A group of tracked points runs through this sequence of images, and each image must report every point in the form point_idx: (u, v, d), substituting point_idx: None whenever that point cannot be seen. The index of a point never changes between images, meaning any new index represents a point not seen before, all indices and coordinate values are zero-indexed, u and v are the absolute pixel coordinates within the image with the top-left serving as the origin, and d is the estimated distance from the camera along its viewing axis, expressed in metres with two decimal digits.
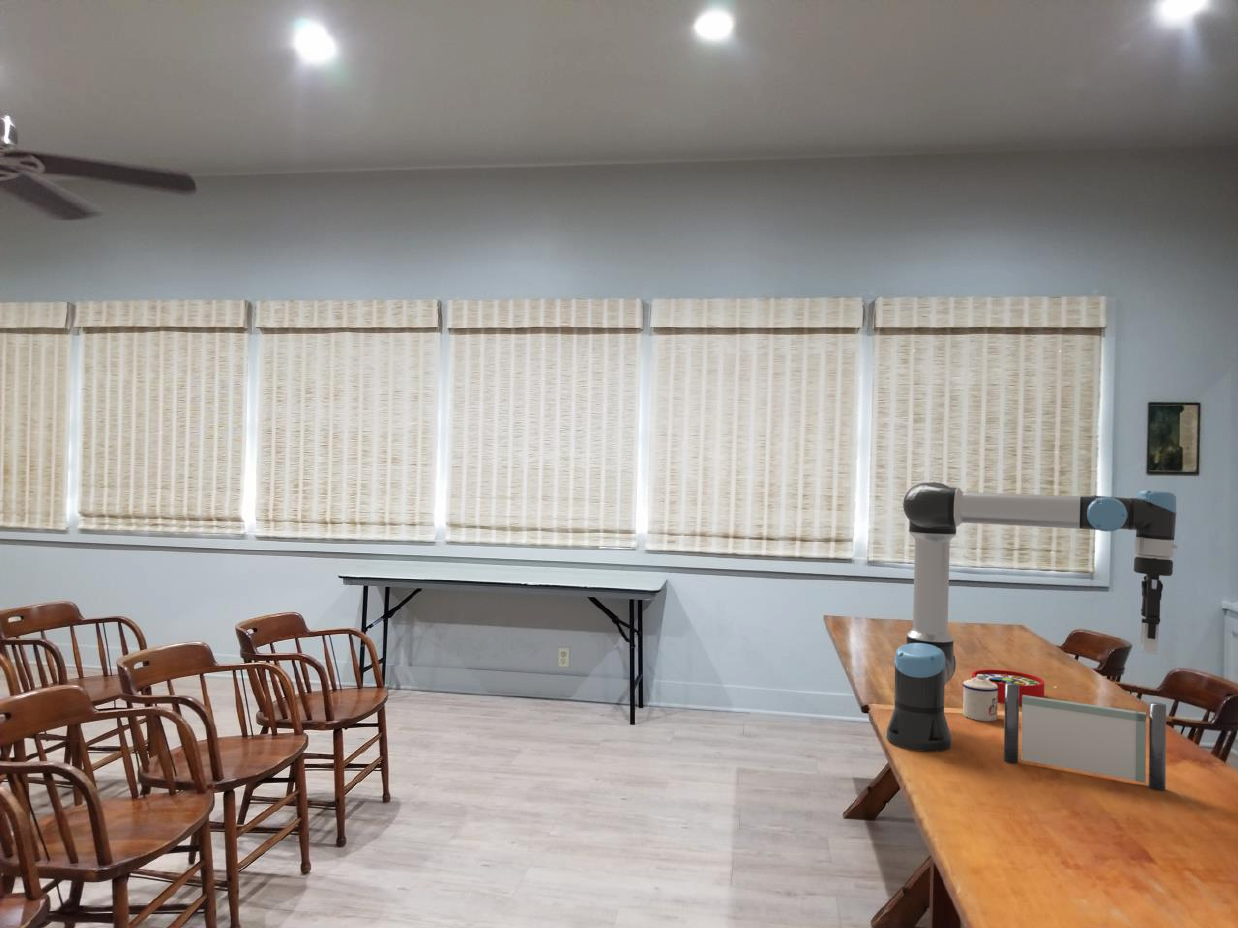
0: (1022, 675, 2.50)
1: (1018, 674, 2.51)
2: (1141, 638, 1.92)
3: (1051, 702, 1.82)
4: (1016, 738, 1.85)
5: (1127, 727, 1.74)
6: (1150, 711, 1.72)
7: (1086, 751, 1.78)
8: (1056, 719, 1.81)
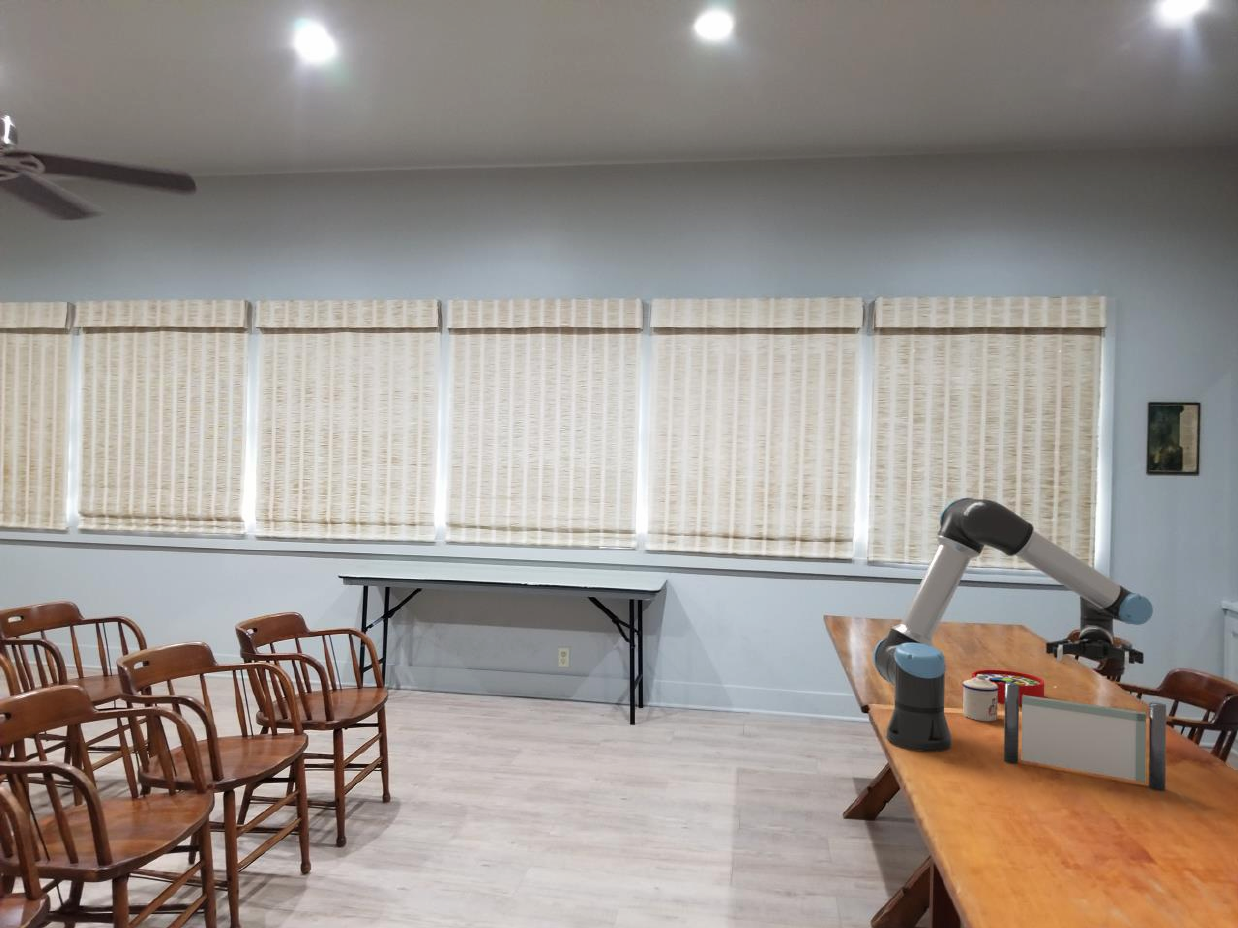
0: (1022, 675, 2.50)
1: (1018, 674, 2.51)
2: (1061, 649, 1.91)
3: (1051, 702, 1.82)
4: (1016, 738, 1.85)
5: (1127, 727, 1.74)
6: (1150, 711, 1.72)
7: (1086, 751, 1.78)
8: (1056, 719, 1.81)
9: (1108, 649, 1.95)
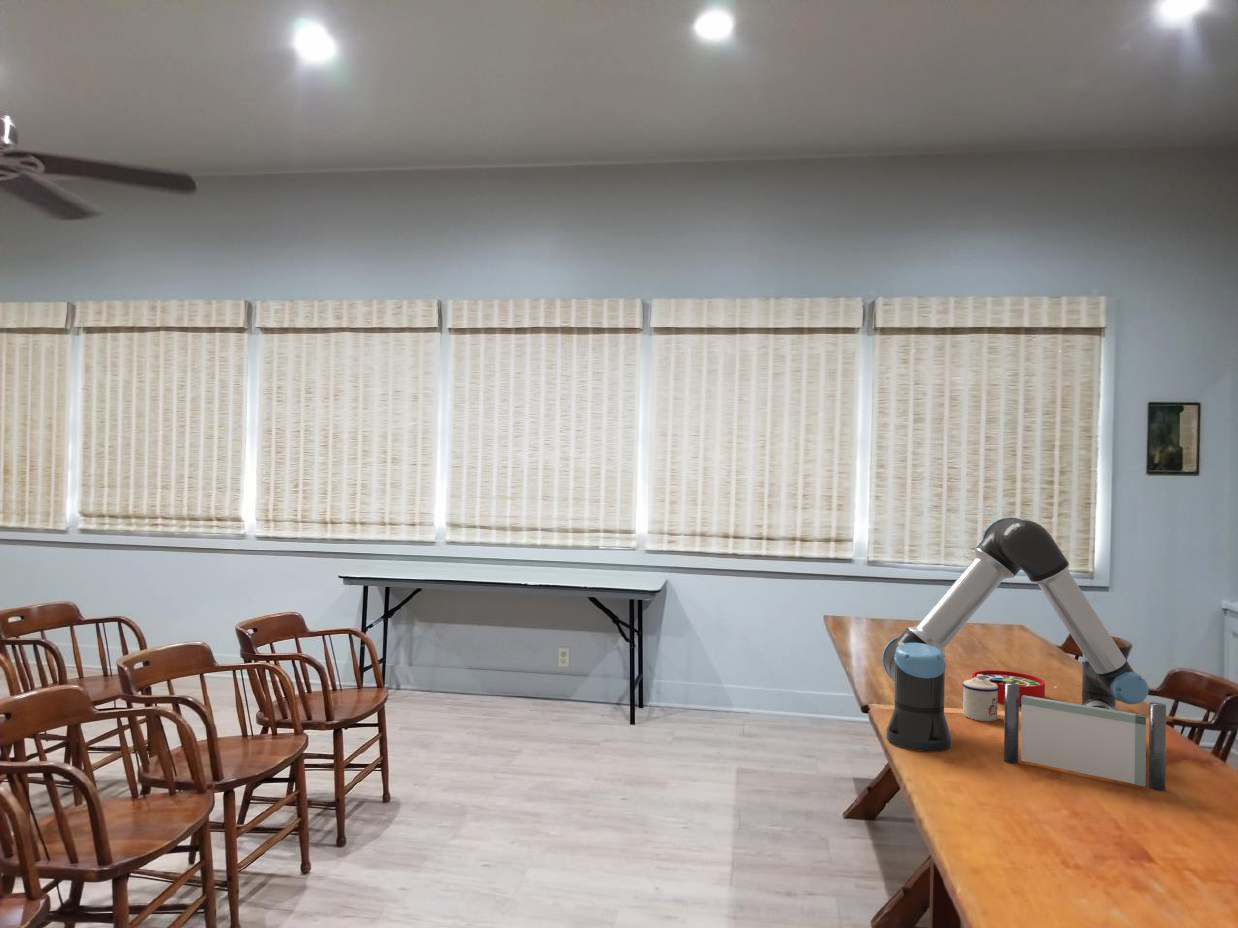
0: (1023, 675, 2.49)
1: (1019, 675, 2.50)
2: None
3: (1050, 703, 1.81)
4: (1016, 738, 1.85)
5: (1126, 729, 1.72)
6: (1150, 711, 1.72)
7: (1085, 753, 1.77)
8: (1055, 720, 1.80)
9: None
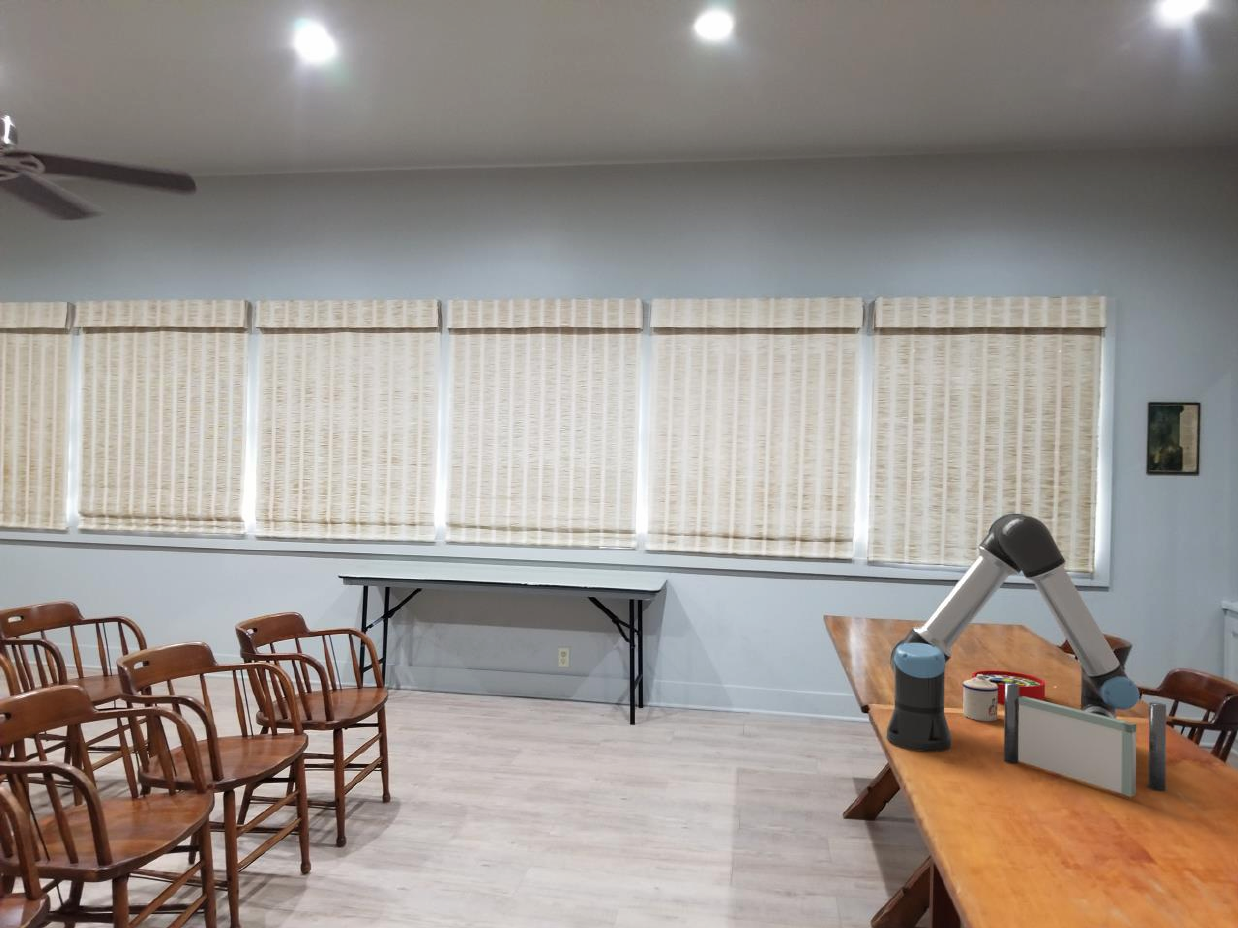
0: (1023, 676, 2.49)
1: (1019, 675, 2.50)
2: None
3: (1044, 705, 1.79)
4: (1016, 738, 1.85)
5: (1114, 736, 1.67)
6: (1150, 711, 1.72)
7: (1076, 758, 1.74)
8: (1049, 722, 1.79)
9: None
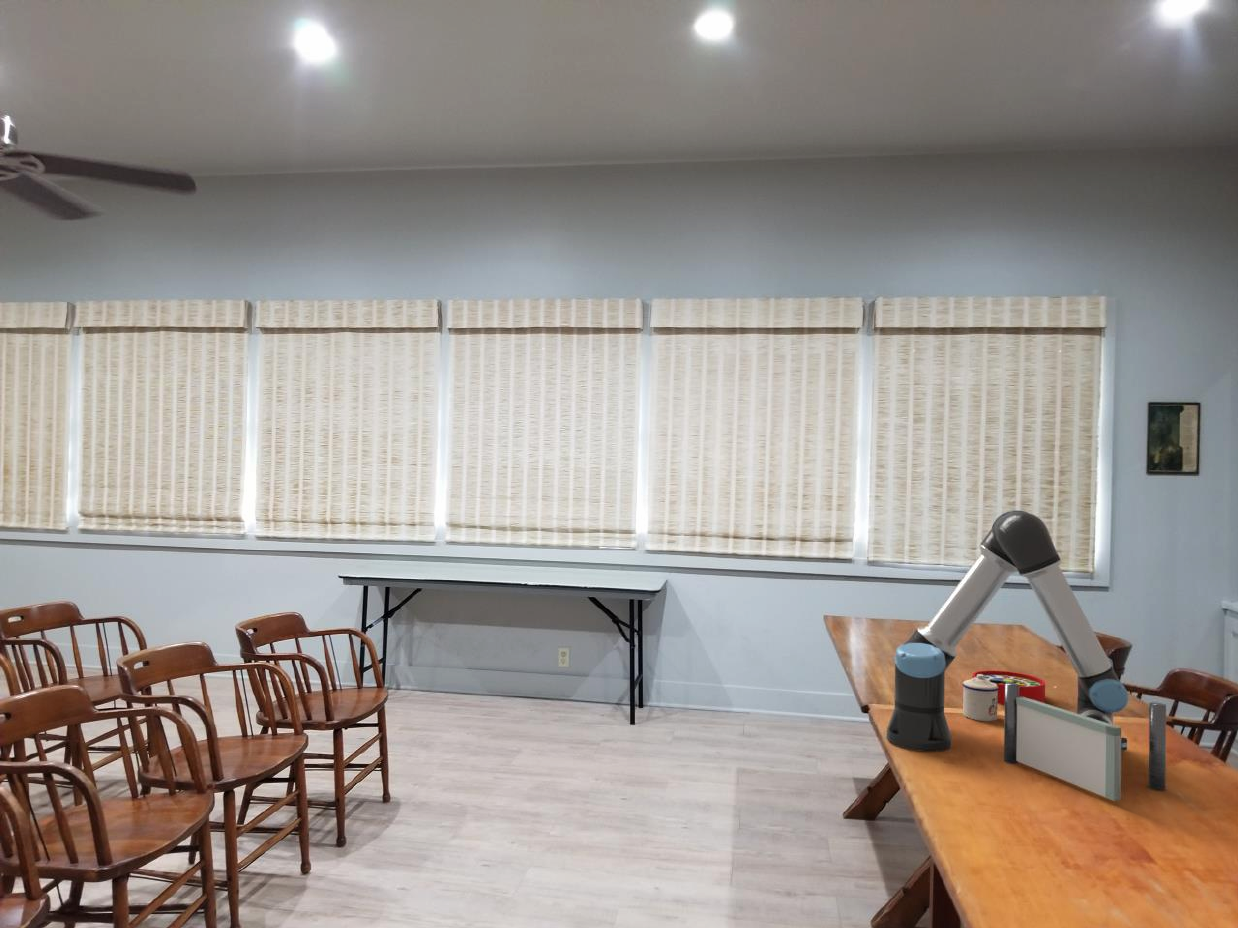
0: (1023, 676, 2.49)
1: (1019, 675, 2.50)
2: None
3: (1038, 705, 1.79)
4: (1016, 738, 1.85)
5: (1099, 739, 1.65)
6: (1150, 711, 1.72)
7: (1066, 760, 1.72)
8: (1043, 723, 1.78)
9: None
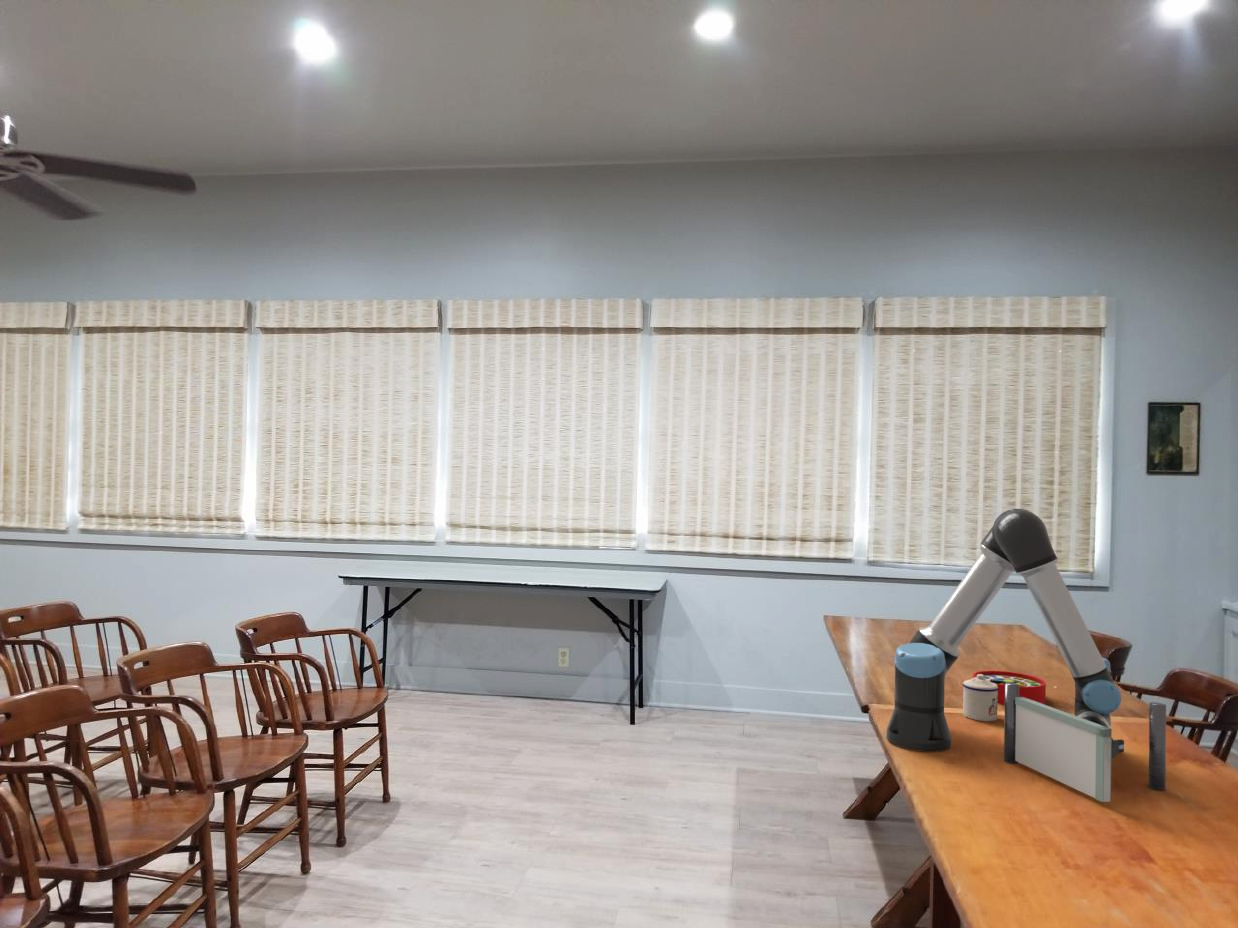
0: (1024, 676, 2.49)
1: (1020, 675, 2.49)
2: None
3: (1035, 705, 1.79)
4: None
5: (1090, 740, 1.64)
6: (1150, 711, 1.72)
7: (1060, 760, 1.72)
8: (1039, 723, 1.78)
9: None
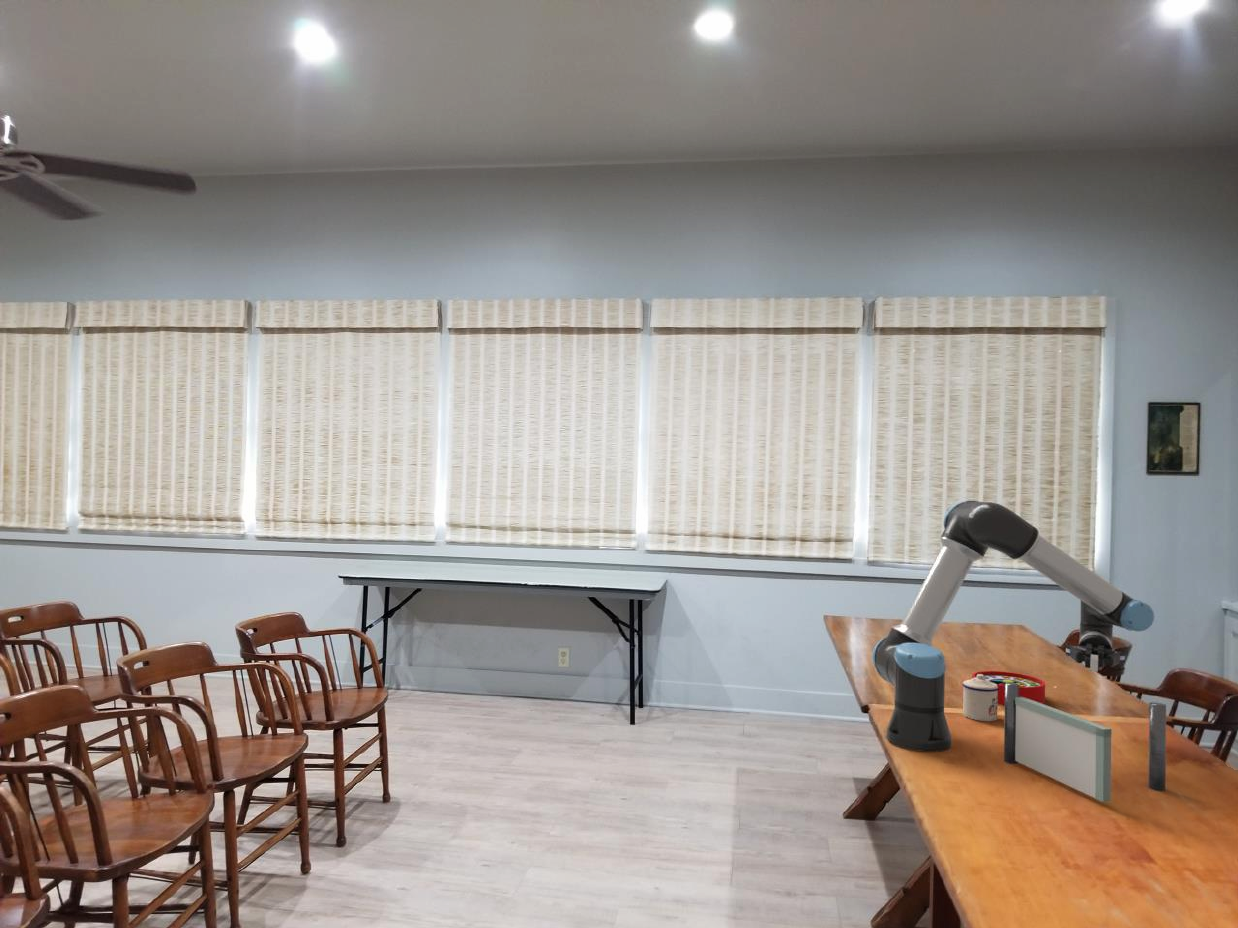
0: (1024, 676, 2.48)
1: (1020, 676, 2.49)
2: None
3: (1035, 705, 1.79)
4: None
5: (1090, 740, 1.64)
6: (1150, 711, 1.72)
7: (1060, 760, 1.72)
8: (1039, 723, 1.78)
9: (1098, 653, 1.96)
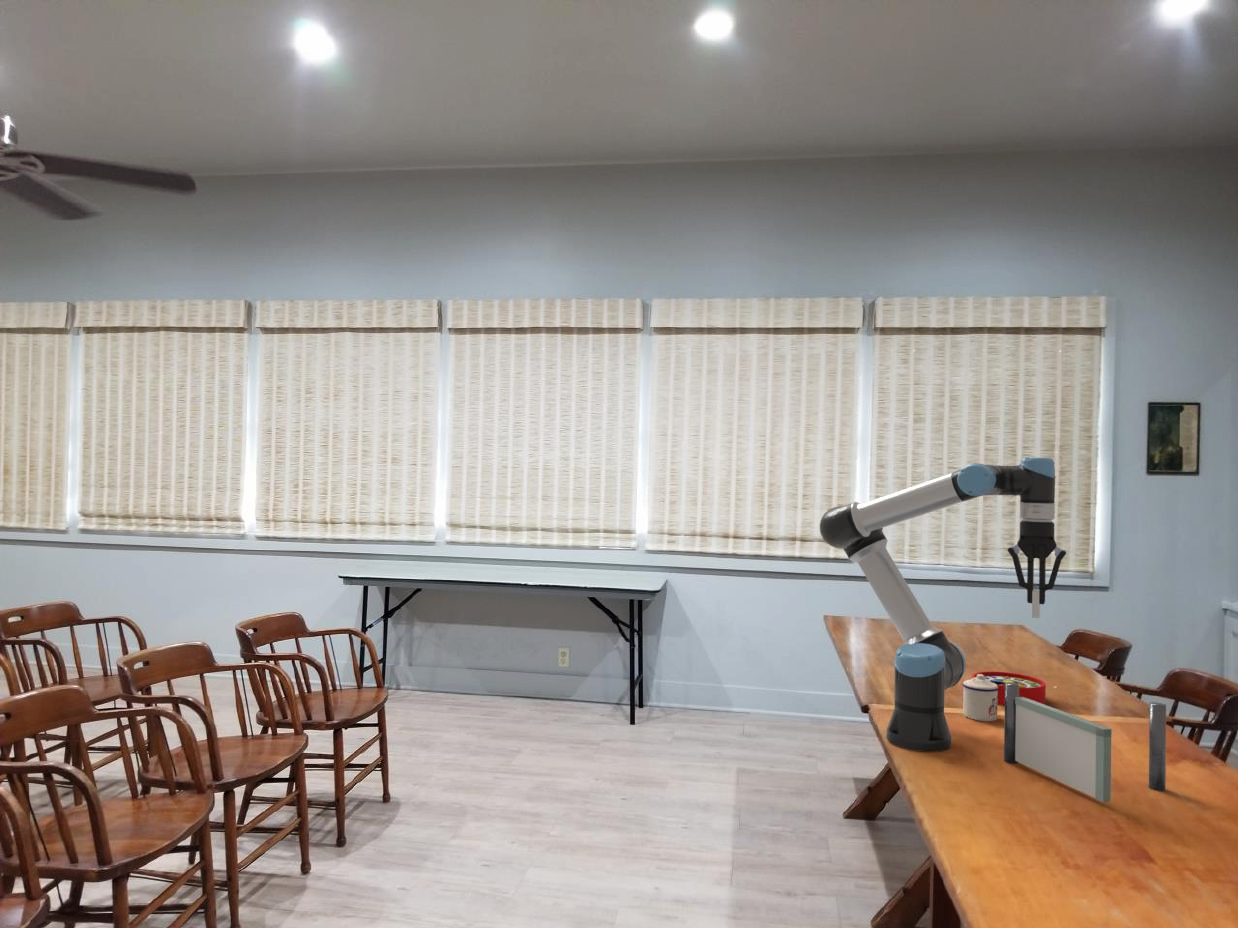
0: (1024, 677, 2.47)
1: (1020, 676, 2.48)
2: None
3: (1035, 705, 1.79)
4: None
5: (1090, 740, 1.64)
6: (1150, 711, 1.72)
7: (1060, 760, 1.72)
8: (1039, 723, 1.78)
9: (1033, 560, 1.96)
